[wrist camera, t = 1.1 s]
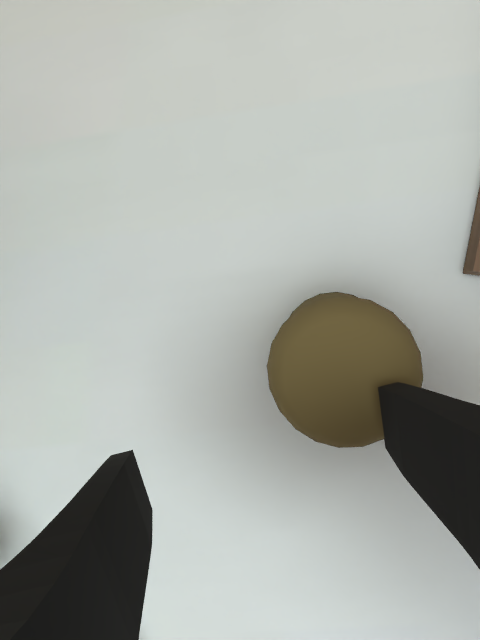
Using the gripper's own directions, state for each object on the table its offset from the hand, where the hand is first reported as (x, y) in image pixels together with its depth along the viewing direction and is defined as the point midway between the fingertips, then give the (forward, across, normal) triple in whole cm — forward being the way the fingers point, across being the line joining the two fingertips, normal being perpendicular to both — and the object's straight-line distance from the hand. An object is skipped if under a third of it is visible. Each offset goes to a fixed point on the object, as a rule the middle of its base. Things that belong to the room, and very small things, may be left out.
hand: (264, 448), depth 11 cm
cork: (+11, -6, +2) cm, 13 cm away
